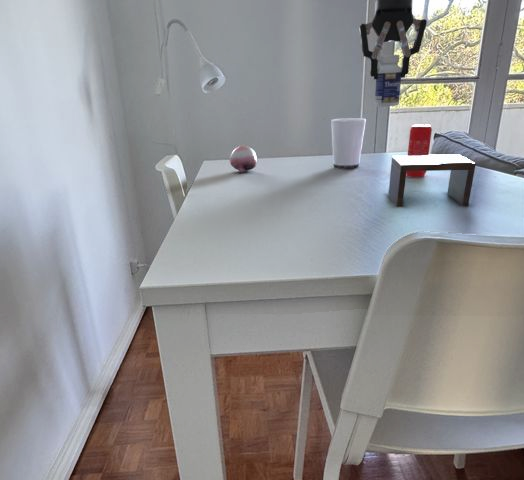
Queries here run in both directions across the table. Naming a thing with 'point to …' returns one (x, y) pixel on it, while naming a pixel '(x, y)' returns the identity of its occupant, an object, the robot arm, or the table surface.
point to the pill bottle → (388, 81)
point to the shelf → (456, 163)
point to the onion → (243, 158)
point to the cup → (347, 141)
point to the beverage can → (419, 145)
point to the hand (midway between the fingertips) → (388, 78)
